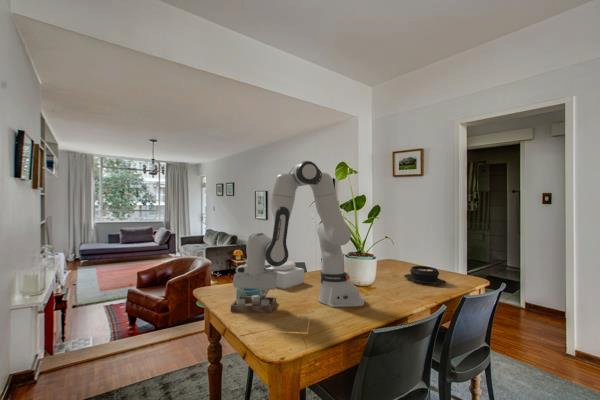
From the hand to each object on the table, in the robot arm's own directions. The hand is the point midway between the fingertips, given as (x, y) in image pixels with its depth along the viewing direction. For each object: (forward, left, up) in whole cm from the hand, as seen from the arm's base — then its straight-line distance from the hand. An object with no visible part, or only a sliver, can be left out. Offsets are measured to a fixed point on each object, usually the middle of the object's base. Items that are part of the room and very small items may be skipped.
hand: (254, 297), depth 133 cm
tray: (-1, +2, -4) cm, 4 cm away
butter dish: (-8, -40, -4) cm, 41 cm away
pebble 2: (-1, 0, -3) cm, 3 cm away
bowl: (+5, -12, -4) cm, 14 cm away
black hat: (-95, -53, -4) cm, 108 cm away
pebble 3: (-6, +5, -3) cm, 9 cm away
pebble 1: (+5, +5, -3) cm, 8 cm away
